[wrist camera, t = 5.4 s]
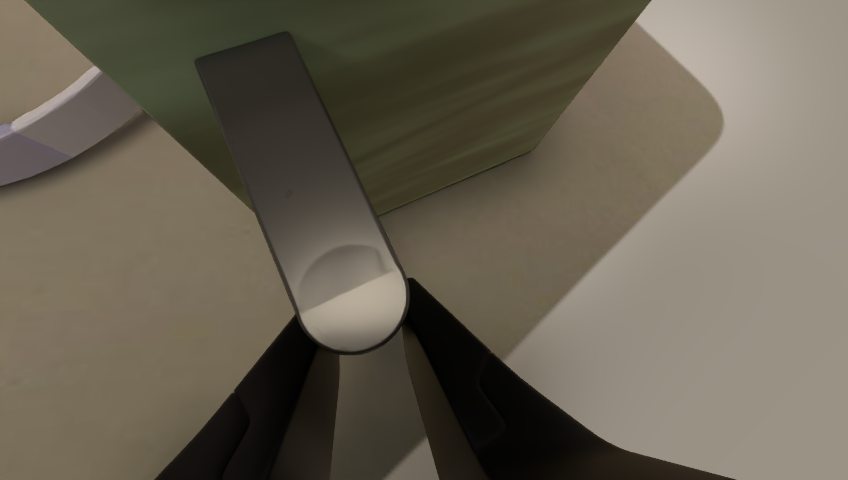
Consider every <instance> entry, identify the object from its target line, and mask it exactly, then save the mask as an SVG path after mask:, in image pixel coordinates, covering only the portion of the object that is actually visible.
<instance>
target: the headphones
mask: <svg viewBox="0 0 848 480" xmlns="http://www.w3.org/2000/svg"><path fill="white" fill-rule="evenodd" d="M140 109H141V108H140V107H139V106H138V105H137V104H136V103H135V102H134V101H133V100H132V99H131V98H130V97H129V96H127V95H126V94H125V93H124V92H123V91H122V90H121V89H120V88H119V87H118V86H117V85H116V84H115V83H113V82H112V81H111V80H110V79H109V78H108V77H107V76H106V75H105V74H104V73H103V72H102V71H100V70H99V69H98V68H97V67H96V66H95V65H94V66H93V67H92V68H91V69H89V70H88V71H87V72H86V73H85V74H84V75H82V76H81V77H80V78H79V79H78V80H77V81H75V82H74V83H73V84H72V85H70V86H69V87H68V88H67V89H65V90H64V91H62V92H61V93H59V94H58V95H56V96H55V97H53V98H52V99H50V100H48V101H47V102H45V103H44V104H42V105H41V106H39V107H38V108H36V109H34V110H32V111H30V112H28V113H26V114H24V115H23V116H21V117H19V118H18V119H16V120H14V121H13V122H12V123H8V124H3V125H0V186H2V185H6V184H9V183H13V182H16V181H19V180H22V179H25V178H29V177H31V176H34V175H36V174H39V173H41V172H43V171H46V170H48V169H51V168H53V167H55V166H57V165H59V164H61V163H63V162H65V161H67V160H70V159H72V158H73V157H75V156H77V155H78V154H80V153H82V152H83V151H85V150H87V149H88V148H90V147H92V146H93V145H95V144H97V143H98V142H100V141H101V140H103V139H104V138H106V137H107V136H108V135H110V134H111V133H113V132H114V131H115V130H117V129H118V128H119V127H120V126H122V125H123V124H124V123H126V122H127V121H128V120H130V119H131V118H132V117H133V116H134V115H135V114H136V113H137V112H138V111H139V110H140Z"/></svg>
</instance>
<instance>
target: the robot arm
mask: <svg viewBox="0 0 848 480" xmlns="http://www.w3.org/2000/svg"><path fill="white" fill-rule="evenodd" d="M407 281H408V285H409V292H410V301H409V308H408V311H407V315H406V317H405V320H404V322H403V324H402V332H403V339H404V346H405V353H406V359H407V365H408V369H409V373H410V377H411V380H412V384H413V387H414V391H415V394H416V398H417V401H418V405H419V409H420V412H421V416H422V419H423V423H424V426H425V430H426V433H427V437H428V441H429V444H430V448H431V451H432V454H433V458H434V462H435V465H436V469H437V473H438V476H439V479H440V480H735V479H732V478H728V477H724V476H720V475H716V474H712V473H709V472H705V471H701V470H697V469H694V468H690V467H686V466H682V465H679V464H675V463H671V462H667V461H663V460H660V459H656V458H652V457H648V456H644V455H640V454H637V453H633V452H629V451H626V450H624V449H621V448H619V447H617V446H615V445H612V444H611V443H608V442H607V441H605V440H603V439H602V438H600V437H598V436H597V435H595V434H594V433H593V432H591V431H590V430H588V429H587V428H585V427H584V426H583V425H582V424H580V423H579V422H578V421H576V420H575V419H574V418H572V417H571V416H570V415H568V414H567V413H566V412H564V411H563V410H562V409H560V408H559V407H558V406H556V405H555V404H554V403H552V402H551V401H550V400H548V399H547V398H546V397H544V396H543V395H542V394H541V393H539V392H538V391H537V390H535V389H534V388H533V387H532V386H530V385H529V384H528V383H527V382H525V381H524V380H523V379H521V378H520V377H519V376H518V375H517V374H515V372H513V371H512V370H511V369H510V368H509V367H508V366H507V365H506V364H504V363H503V362H502V361H501V360H500V359H499V358H498V357H497V356H496V355H495V354H494V353H491V351H490V350H489V349H488V348H487V347H486V346H485V345H484V344H483V343H482V342H481V341H480V340H479V339H478V338H477V337H475V336H474V335H473V334H472V333H471V332H470V331H469V330H468V329H467V328H466V327H465V326H464V325H463V324H462V323H461V322H460V321H459V320H457V319H456V318H455V317H454V316H453V315H452V314H451V313H450V312H449V311H448V310H447V309H446V308H445V307H444V306H443V305H442V304H440V303H439V302H438V301H437V300H436V299H435V298H434V297H433V296H432V295H431V294H430V293H429V292H428V291H427V290H426V289H425V288H423V287H422V286H421V285H420V284H419V283H418V282H417V281H416V280H415V279H414V278H407ZM339 374H340V365H339V354H336V353H332V352H329V351H327V350H325V349H323V348H321V347H320V346H318V345H317V344H315V343H314V342H313V341H312V340H311V339H310V338H309V337H308V336H307V335H306V334H305V332H304V331H303V329H302V327H301V325H300V323H299V321H298V318H297V316H296V314H295V315H294V317H293V318H292V319H291V320H290V322H289V323H288V324H287V325H286V326H285V328H284V329H283V330H282V331H281V333H280V334H279V335H278V336H277V338H276V339H275V340H274V341H273V343H272V344H271V345H270V346H269V348H268V349H267V350H266V351H265V353H264V354H263V355H262V356H261V357H260V359H259V360H258V361H257V362H256V364H255V365H254V366H253V367H252V369H251V370H250V371H249V372H248V374H247V375H246V376H245V377H244V379H243V380H242V381H241V382H240V384H239V385H238V386H237V387H236V388H235V390H234V393H231V394H230V396H229V397H228V398H227V399H226V401H225V402H224V403H223V404H222V406H221V407H220V408H219V409H218V410H217V412H216V413H215V414H214V415H213V416H212V417H211V419H210V420H209V421H208V422H207V423H206V425H205V426H204V427H203V428H202V429H201V430H200V431H199V433H198V434H197V435H196V436H195V437H194V438H193V439H192V440H191V441H190V442H189V443H188V445H187V446H186V447H185V448H184V449H183V450H182V451H181V452H180V453H179V454H178V455H177V456H176V457H175V458H174V460H173V461H172V462H171V463H170V464H169V465H168V466H167V467H166V468H165V469H164V470H163V471H162V472H161V473H160V474H159V475H158V476H157V477H156V478H155V479H154V480H329V479H330V469H331V459H332V449H333V439H334V429H335V419H336V409H337V399H338V389H339Z"/></svg>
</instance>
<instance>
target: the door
mask: <svg viewBox="0 0 848 480" xmlns="http://www.w3.org/2000/svg"><path fill="white" fill-rule="evenodd" d="M25 1H26V2H27V3H28V4H29V5H30V6H31V7H32V8H33V9H34V10H36V11H37V12H38V13H39V14H40V15H41V16H42V17H43V18H44V19H45V20H46V21H47V22H49V23H50V24H51V25H52V26H53V27H54V28H55V29H56V30H57V31H58V32H59V33H60V34H62V35H63V36H64V37H65V38H66V39H67V40H68V41H69V42H70V43H71V44H72V45H73V46H74V47H76V48H77V49H78V50H79V51H80V52H81V53H82V54H83V55H84V56H85V57H86V58H87V59H89V60H90V61H91V62H92V63H93V64H94V65H95V66H96V67H97V68H98V69H99V70H100V71H102V72H103V73H104V74H105V75H106V76H107V77H108V78H109V79H110V80H111V81H112V82H113V83H115V84H116V85H117V86H118V87H119V88H120V89H121V90H122V91H123V92H124V93H125V94H126V95H127V96H129V97H130V98H131V99H132V100H133V101H134V102H135V103H136V104H137V105H138V106H139V107H140V108H142V109H143V110H144V111H145V112H146V113H147V114H148V115H149V116H150V117H151V118H152V119H153V120H155V121H156V122H157V123H158V124H159V125H160V126H161V127H162V128H163V129H164V130H165V131H166V132H167V133H169V134H170V135H171V136H172V137H173V138H174V139H175V140H176V141H177V142H178V143H179V144H180V145H182V146H183V147H184V148H185V149H186V150H187V151H188V152H189V153H190V154H191V155H192V156H193V157H195V158H196V159H197V160H198V161H199V162H200V163H201V164H202V165H203V166H204V167H205V168H206V169H208V170H209V171H210V172H211V173H212V174H213V175H214V176H215V177H216V178H217V179H218V180H219V181H220V182H222V183H223V184H224V185H225V186H226V187H227V188H228V189H229V190H230V191H231V192H232V193H233V194H235V195H236V196H237V197H238V198H239V199H240V200H241V201H242V202H243V203H244V204H245V205H246V206H248V207H249V208H250V209H251V210H252V211H253V212H254V213H255V215H256V217H257V220H258V222H259V225H260V227H261V229H262V232H263V234H264V237H265V239H266V242H267V244H268V247H269V249H270V252H271V254H272V257H273V259H274V261H275V264H276V266H277V269H278V271H279V274H280V276H281V279H282V281H283V284H284V286H285V289H286V291H287V293H288V296H289V298H290V301H291V303H292V306H293V308H294V311H295V313H296V316H297V318H298V321H299V323H300V325H301V327H302V329H303V331H304V332H305V334H306V335H307V336H308V337H309V338H310V339H311V340H312V341H313V342H314V343H315V344H317V345H318V346H320V347H321V348H323V349H325V350H327V351H329V352H332V353H336V354H340V355H360V354H364V353H368V352H371V351H373V350H376V349H378V348H379V347H381V346H383V345H384V344H385V343H387V342H388V341H389V340H390V339H391V338H392V337H393V336H394V335H395V334H396V333H397V332H398V330H399V329H400V327H401V326H402V324H403V322H404V320H405V317H406V315H407V311H408V308H409V301H410V292H409V285H408V281H407V278H406V275H405V273H404V271H403V269H402V267H401V264H400V262H399V260H398V258H397V256H396V254H395V252H394V250H393V248H392V245H391V243H390V241H389V239H388V237H387V235H386V233H385V231H384V229H383V227H382V224H381V222H380V220H379V218H378V215H380V214H383V213H385V212H387V211H390V210H392V209H395V208H397V207H399V206H402V205H404V204H406V203H409V202H411V201H413V200H416V199H418V198H420V197H423V196H425V195H428V194H430V193H432V192H435V191H437V190H439V189H442V188H444V187H446V186H449V185H451V184H453V183H456V182H458V181H461V180H463V179H465V178H468V177H470V176H472V175H475V174H477V173H479V172H482V171H484V170H486V169H489V168H491V167H494V166H496V165H498V164H501V163H503V162H505V161H508V160H510V159H512V158H515V157H517V156H519V155H522V154H524V153H527V152H529V151H531V150H533V149H534V148H535V147H536V146H537V144H538V143H539V142H540V141H541V139H542V138H543V137H544V136H545V134H546V133H547V132H548V130H549V129H550V128H551V127H552V125H553V124H554V123H555V122H556V120H557V119H558V118H559V117H560V115H561V114H562V113H563V111H564V110H565V109H566V108H567V106H568V105H569V104H570V103H571V101H572V100H573V99H574V98H575V96H576V95H577V94H578V92H579V91H580V90H581V89H582V87H583V86H584V85H585V84H586V82H587V81H588V80H589V79H590V77H591V76H592V75H593V73H594V72H595V71H596V70H597V68H598V67H599V66H600V65H601V63H602V62H603V61H604V60H605V58H606V57H607V56H608V55H609V53H610V52H611V51H612V49H613V48H614V47H615V46H616V44H617V43H618V42H619V41H620V39H621V38H622V37H623V36H624V34H625V33H626V32H627V30H628V29H629V28H630V27H631V25H632V24H633V23H634V22H635V20H636V19H637V18H638V17H639V15H640V14H641V13H642V11H643V10H644V9H645V8H646V6H647V5H648V4H649V3H650V1H651V0H25Z"/></svg>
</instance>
